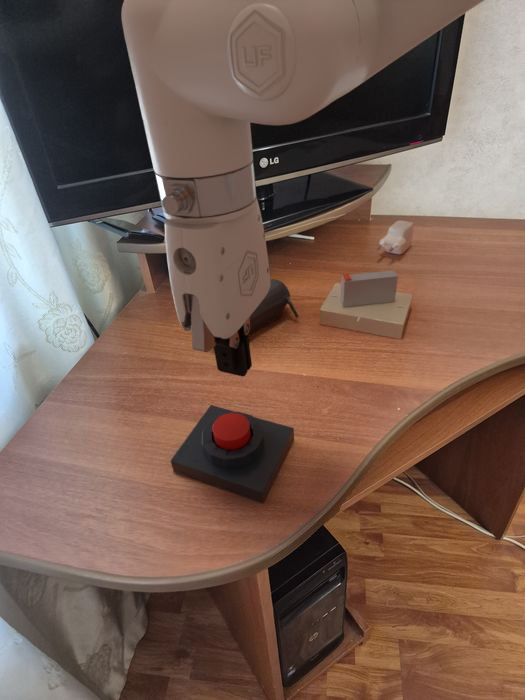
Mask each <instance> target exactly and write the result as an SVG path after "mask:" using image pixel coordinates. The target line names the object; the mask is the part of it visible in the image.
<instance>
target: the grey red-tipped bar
mask: <svg viewBox="0 0 525 700" xmlns="http://www.w3.org/2000/svg"><path fill="white" fill-rule="evenodd" d="M398 280H399V275H398V274H397V273H396V271H395V270H394V269H391V270H382V271H371V272H363V273H353V274H349V273H343V274H342V275H341V277H340V283H341V293H340V302H341V304H342V306H343V307H351V306H360V305H370V304H379V303H389V302H395V295H396V292H397V288H398V287H397V285H398Z"/></svg>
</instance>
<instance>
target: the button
mask: <svg viewBox="0 0 525 700" xmlns="http://www.w3.org/2000/svg"><path fill="white" fill-rule="evenodd" d="M213 435H214V440H215V443H216V444H217V445H218V446H219V447H220V448H222V449H224V450H237V449H240V448H242V447H244V446H245V445H246V444H247V443H248V442H249V440H250V437H251V432H250V424H249V421H248V419H247V418H246V417H245V416H243V415H241V414H238V413H228V414H225V415H222V416H220V417H219V418H218V419H217V420H216V421H215V422H214V424H213Z"/></svg>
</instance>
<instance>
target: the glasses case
mask: <svg viewBox="0 0 525 700" xmlns="http://www.w3.org/2000/svg"><path fill="white" fill-rule="evenodd" d="M287 305H288V306H289V308H290V309H291V312H292V314H293V315H294V317H295V318H299V313H298V311H297V309H296V308H295V305H294V303H293V301H291V293H290V291H289V289H288V287H287V285H285V283H284V282H282V281H281V280H278V279H275V278H270V289H269V291H268V293H267V295H266V296H265V298H264V299H263V300H262V302H261V303H260V304H259V306H258V307H257V308H256V309H255V311H254V312H253V313H252V314H251V316H250V330H249V333H248V334H247V335H245V336H249V335H251V334H253V333H255V332H256V331H258V330H259V329H262V328H264V327H265V326H267V325H268V324H270V323H272V322H273V321H275V320H277V319H278V318H279V317H281V316H282V315H283V313H284V311H285V309H286V306H287Z"/></svg>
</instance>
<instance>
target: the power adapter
mask: <svg viewBox="0 0 525 700" xmlns="http://www.w3.org/2000/svg"><path fill="white" fill-rule="evenodd" d="M413 234H414V223H413V222H411V221H408V220H402V219H401V220H400V219H399V220H396V221H395V222H394V223H393V224H391V225H390V226H389V227H388V230H387V234H386V235H384V236H383V237H382V238H381V239H379V241H378V243H379V244H378V246H376V250H380V249H381V248H385V251H386V252H387V253H390V254H394V255H403V254H404V253H405V252H406V251H407V250H408V249H410V246H411V245H412V239H413Z"/></svg>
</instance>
